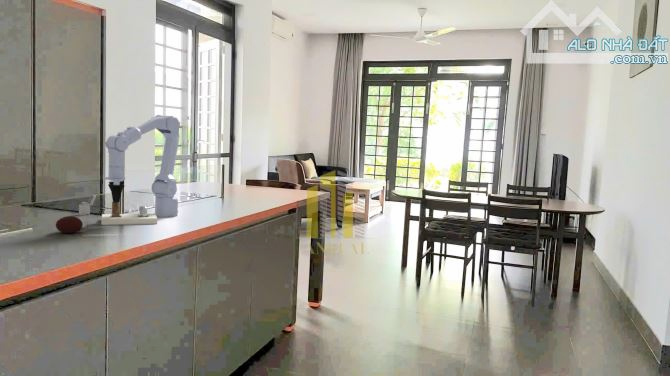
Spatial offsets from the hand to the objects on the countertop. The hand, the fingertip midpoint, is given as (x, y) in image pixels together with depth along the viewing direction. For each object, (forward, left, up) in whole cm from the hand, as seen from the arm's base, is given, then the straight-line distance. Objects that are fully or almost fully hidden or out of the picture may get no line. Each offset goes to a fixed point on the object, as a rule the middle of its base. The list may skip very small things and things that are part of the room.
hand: (116, 200), depth 186 cm
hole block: (-5, 0, -9) cm, 10 cm away
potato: (+15, +14, -10) cm, 23 cm away
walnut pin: (0, 0, -8) cm, 8 cm away
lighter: (+11, -22, -10) cm, 26 cm away
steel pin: (-10, 0, -8) cm, 13 cm away
